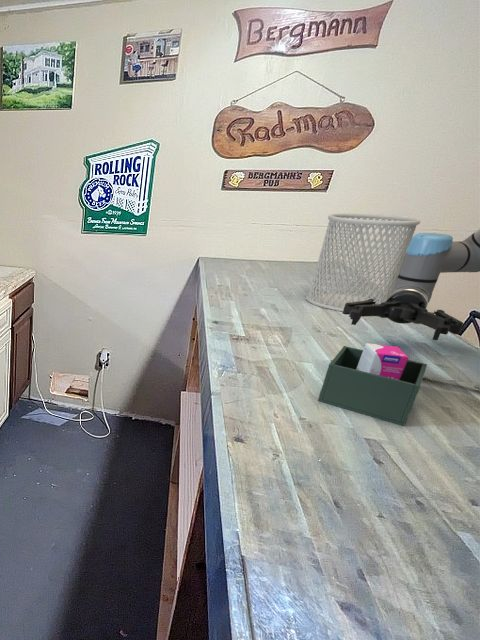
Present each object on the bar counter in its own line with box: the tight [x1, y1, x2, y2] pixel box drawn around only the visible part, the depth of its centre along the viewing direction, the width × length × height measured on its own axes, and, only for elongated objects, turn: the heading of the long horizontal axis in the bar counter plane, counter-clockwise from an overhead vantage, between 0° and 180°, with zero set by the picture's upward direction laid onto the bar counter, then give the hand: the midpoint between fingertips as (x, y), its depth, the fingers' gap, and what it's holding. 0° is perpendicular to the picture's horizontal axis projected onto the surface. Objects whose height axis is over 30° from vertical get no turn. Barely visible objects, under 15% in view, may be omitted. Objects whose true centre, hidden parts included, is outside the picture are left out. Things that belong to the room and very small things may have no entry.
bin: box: [317, 345, 428, 427], centre depth 96 cm, size 14×14×9 cm
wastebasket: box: [305, 212, 421, 313], centre depth 158 cm, size 25×25×30 cm
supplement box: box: [356, 342, 409, 380], centre depth 95 cm, size 6×6×12 cm
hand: (394, 326), depth 96 cm, fingers open, 13 cm apart
